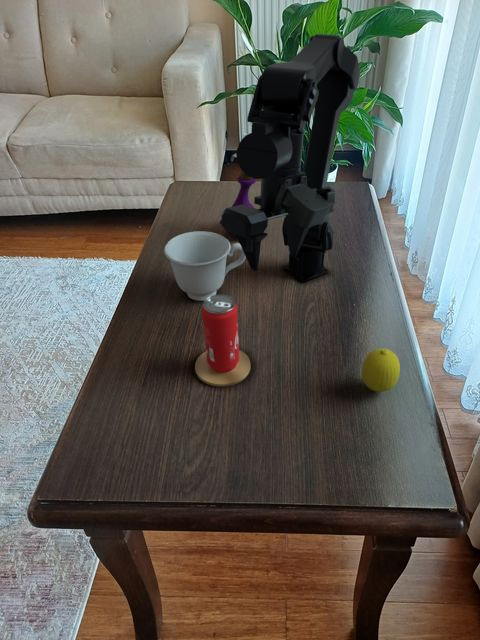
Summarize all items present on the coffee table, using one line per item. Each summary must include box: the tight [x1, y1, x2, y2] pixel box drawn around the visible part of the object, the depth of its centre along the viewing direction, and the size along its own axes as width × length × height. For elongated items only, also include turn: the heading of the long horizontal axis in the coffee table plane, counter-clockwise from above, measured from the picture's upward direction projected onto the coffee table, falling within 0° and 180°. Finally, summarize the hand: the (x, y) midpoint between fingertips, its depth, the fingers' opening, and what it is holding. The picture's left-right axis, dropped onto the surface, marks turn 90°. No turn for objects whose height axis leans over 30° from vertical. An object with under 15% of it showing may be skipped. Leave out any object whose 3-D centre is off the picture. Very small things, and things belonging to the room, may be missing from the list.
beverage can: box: [201, 294, 240, 373], centre depth 81 cm, size 5×5×12 cm
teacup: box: [163, 230, 247, 302], centre depth 98 cm, size 12×15×10 cm
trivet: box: [194, 349, 252, 388], centre depth 85 cm, size 9×9×1 cm
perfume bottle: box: [219, 152, 257, 237], centre depth 113 cm, size 8×8×18 cm
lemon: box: [361, 347, 401, 393], centre depth 78 cm, size 6×6×8 cm
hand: (274, 263), depth 85 cm, fingers open, 9 cm apart
